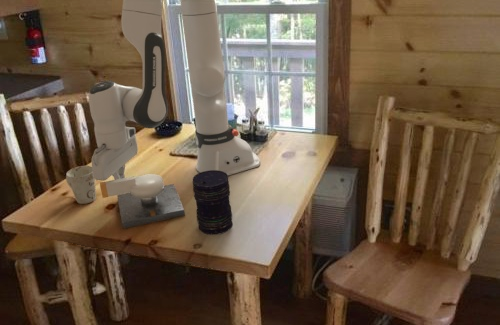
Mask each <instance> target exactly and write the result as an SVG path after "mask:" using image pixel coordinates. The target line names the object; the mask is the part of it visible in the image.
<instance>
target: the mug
mask: <svg viewBox="0 0 500 325" xmlns="http://www.w3.org/2000/svg"><path fill="white" fill-rule="evenodd" d="M65 179H66V184H67V185H68V186H69V188H70V189H71V190H72V193H73V196H74V198H75V201H76V202H77V203H78V204H80V205H83V204H89V203H92V202H94V201H96V198H97V191H96V179H95V178H94V177H93V172H92V165H81V166H76V167H73V168H71V169H69V170H68V171H67V172H66V176H65Z"/></svg>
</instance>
